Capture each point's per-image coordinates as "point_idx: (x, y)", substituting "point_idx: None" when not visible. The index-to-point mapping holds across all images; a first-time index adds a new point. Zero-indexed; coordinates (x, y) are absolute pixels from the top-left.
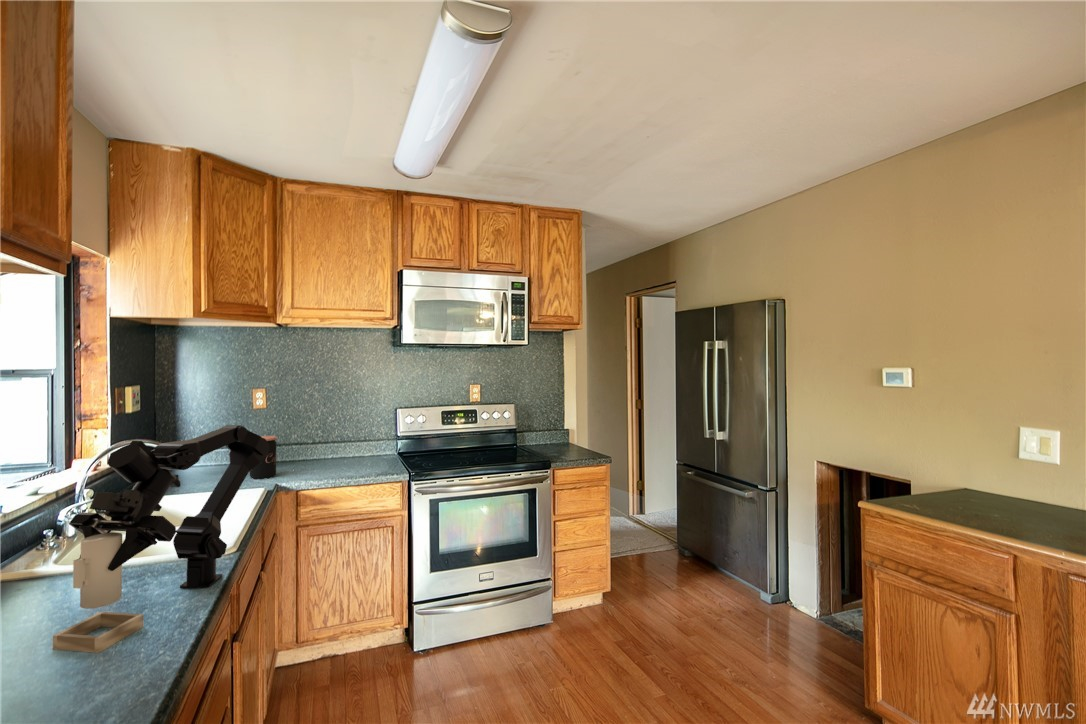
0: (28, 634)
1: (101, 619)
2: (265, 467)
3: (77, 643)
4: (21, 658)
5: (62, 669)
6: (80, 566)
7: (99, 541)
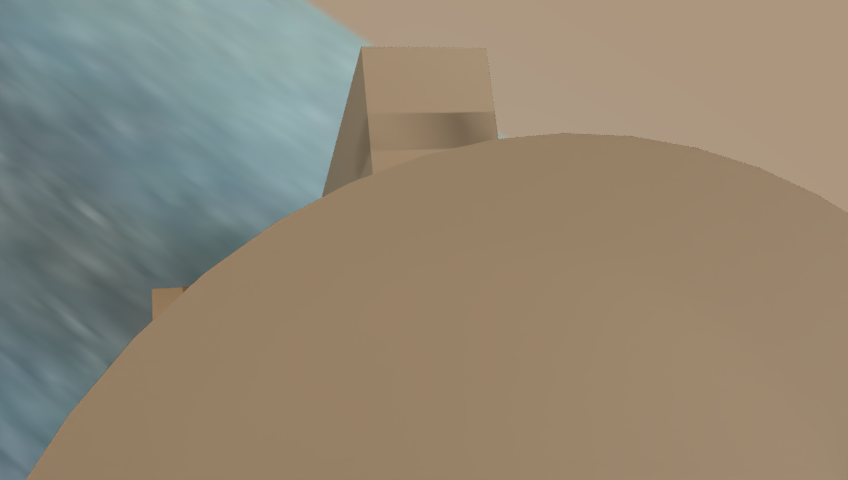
0: None
1: None
2: None
3: None
4: None
5: (201, 140)
6: (350, 116)
7: (315, 400)
